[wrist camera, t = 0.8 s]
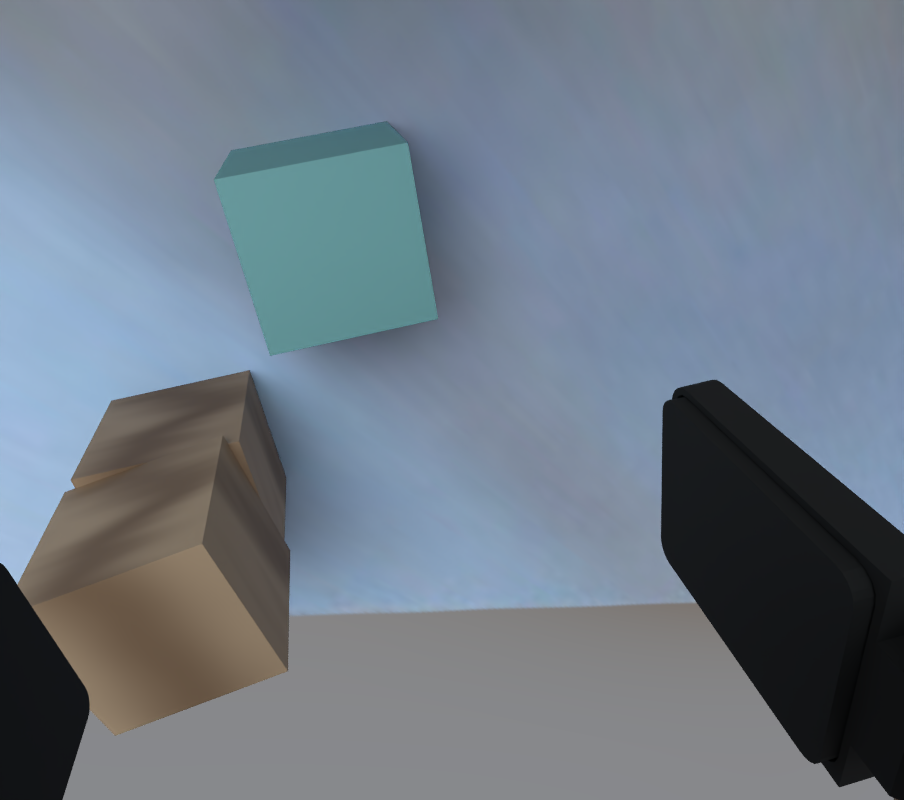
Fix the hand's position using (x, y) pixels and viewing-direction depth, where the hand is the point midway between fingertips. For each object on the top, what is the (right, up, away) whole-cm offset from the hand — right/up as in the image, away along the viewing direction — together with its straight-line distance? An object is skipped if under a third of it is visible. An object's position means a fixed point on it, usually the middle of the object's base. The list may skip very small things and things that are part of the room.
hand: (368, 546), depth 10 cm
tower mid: (-9, -3, +16) cm, 19 cm away
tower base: (-10, 0, +21) cm, 24 cm away
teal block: (-4, +10, +17) cm, 20 cm away
